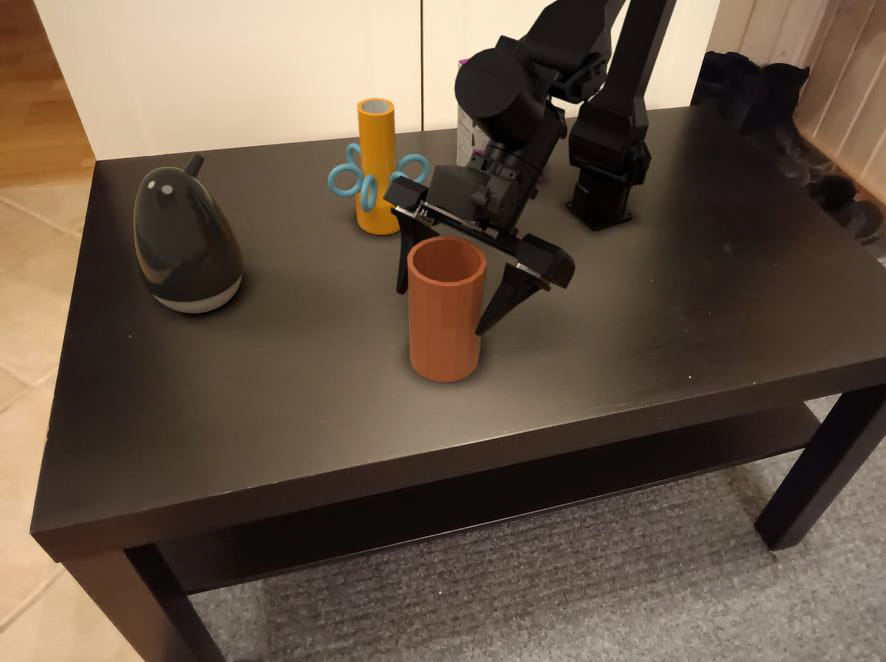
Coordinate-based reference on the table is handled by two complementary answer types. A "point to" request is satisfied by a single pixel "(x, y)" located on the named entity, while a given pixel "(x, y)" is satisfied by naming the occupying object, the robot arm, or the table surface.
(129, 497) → the table surface
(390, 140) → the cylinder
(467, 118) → the candy bar box
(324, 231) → the table surface
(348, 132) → the table surface
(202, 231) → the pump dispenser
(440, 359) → the pot
